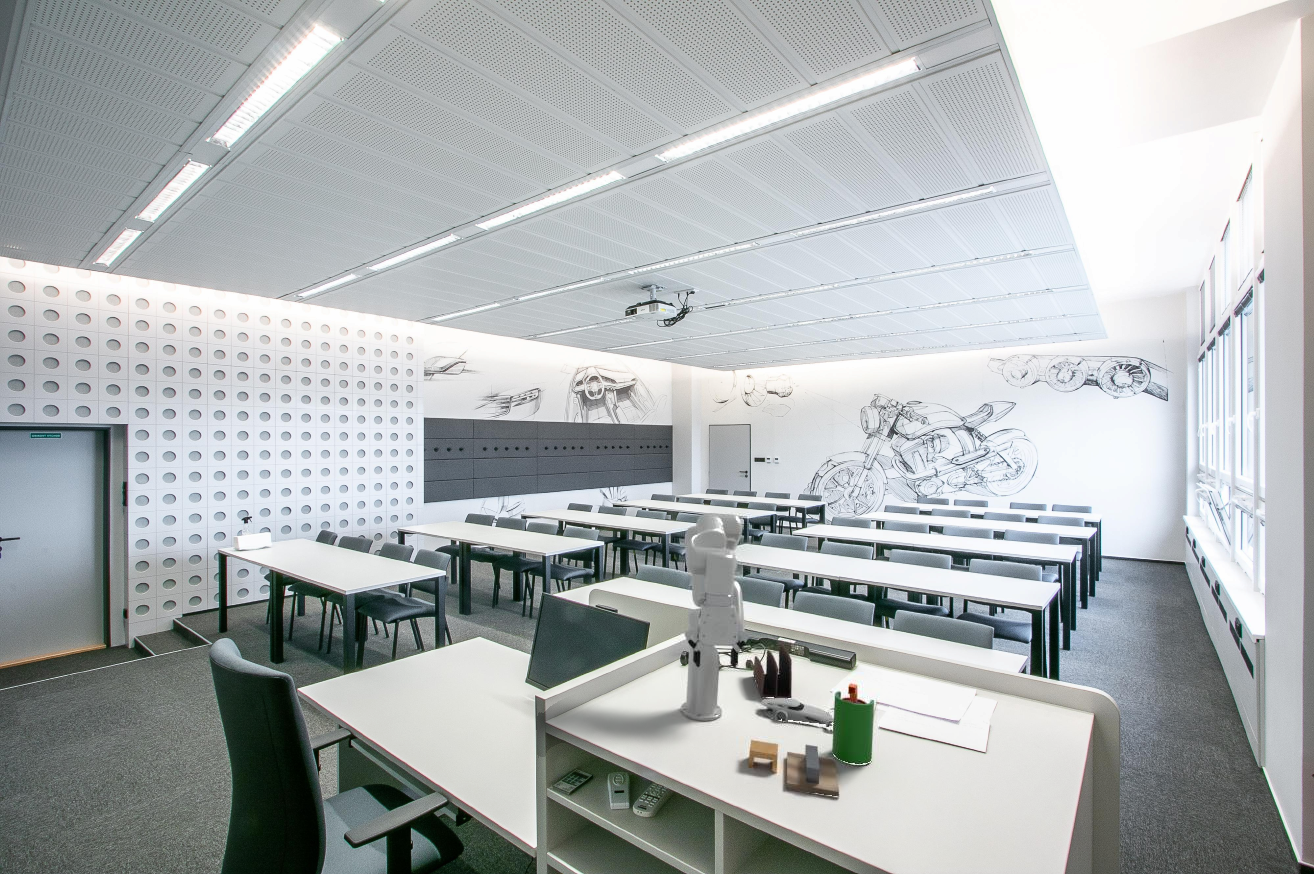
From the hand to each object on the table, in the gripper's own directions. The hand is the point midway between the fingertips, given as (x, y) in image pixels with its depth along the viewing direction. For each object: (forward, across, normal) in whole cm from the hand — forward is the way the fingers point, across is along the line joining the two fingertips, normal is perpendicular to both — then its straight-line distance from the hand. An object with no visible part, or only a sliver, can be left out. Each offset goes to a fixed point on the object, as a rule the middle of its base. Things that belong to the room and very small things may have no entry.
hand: (715, 665), depth 157 cm
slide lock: (+24, +13, -3) cm, 28 cm away
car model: (+24, +34, +24) cm, 48 cm away
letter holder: (+23, +33, +48) cm, 63 cm away
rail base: (+24, +24, -9) cm, 35 cm away
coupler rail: (+23, +24, -9) cm, 34 cm away
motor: (+24, +39, 0) cm, 46 cm away
